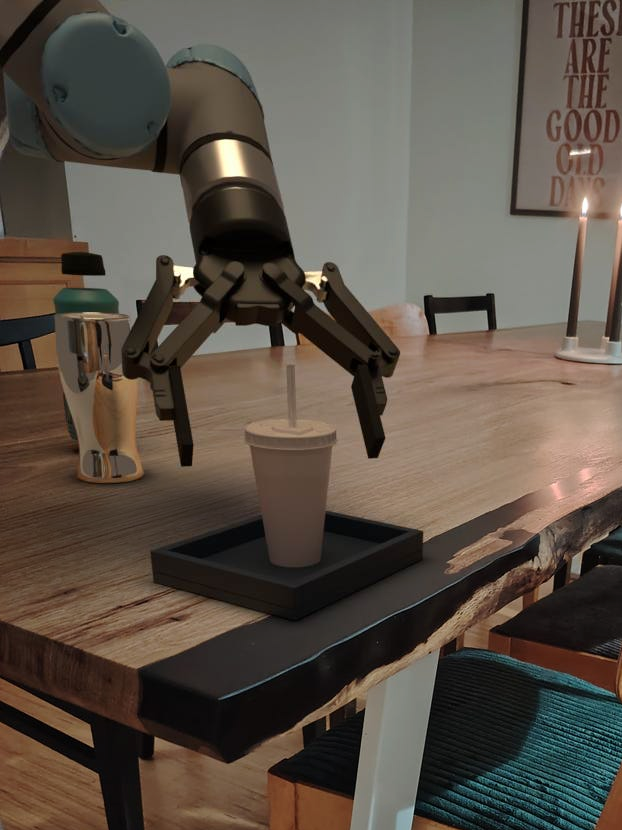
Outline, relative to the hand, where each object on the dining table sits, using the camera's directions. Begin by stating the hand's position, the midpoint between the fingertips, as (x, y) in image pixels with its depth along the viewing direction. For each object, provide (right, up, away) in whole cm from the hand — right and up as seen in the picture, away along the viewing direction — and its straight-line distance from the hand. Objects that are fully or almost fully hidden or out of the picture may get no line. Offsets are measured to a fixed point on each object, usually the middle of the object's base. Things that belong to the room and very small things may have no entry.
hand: (285, 452), depth 66 cm
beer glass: (-22, +3, +25) cm, 34 cm away
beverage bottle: (-27, +7, +35) cm, 45 cm away
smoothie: (0, -8, +2) cm, 8 cm away
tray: (0, -8, +2) cm, 9 cm away
